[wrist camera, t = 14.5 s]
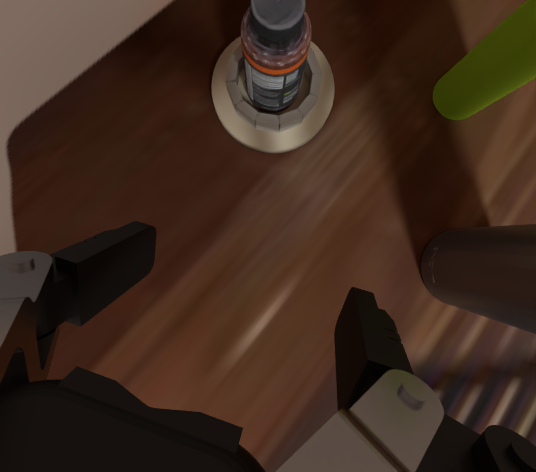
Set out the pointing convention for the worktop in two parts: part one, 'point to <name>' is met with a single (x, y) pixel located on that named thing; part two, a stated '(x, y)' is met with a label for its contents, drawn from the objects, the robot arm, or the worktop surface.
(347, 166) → the worktop surface
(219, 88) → the collar plate
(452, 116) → the soap dispenser
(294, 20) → the supplement bottle
